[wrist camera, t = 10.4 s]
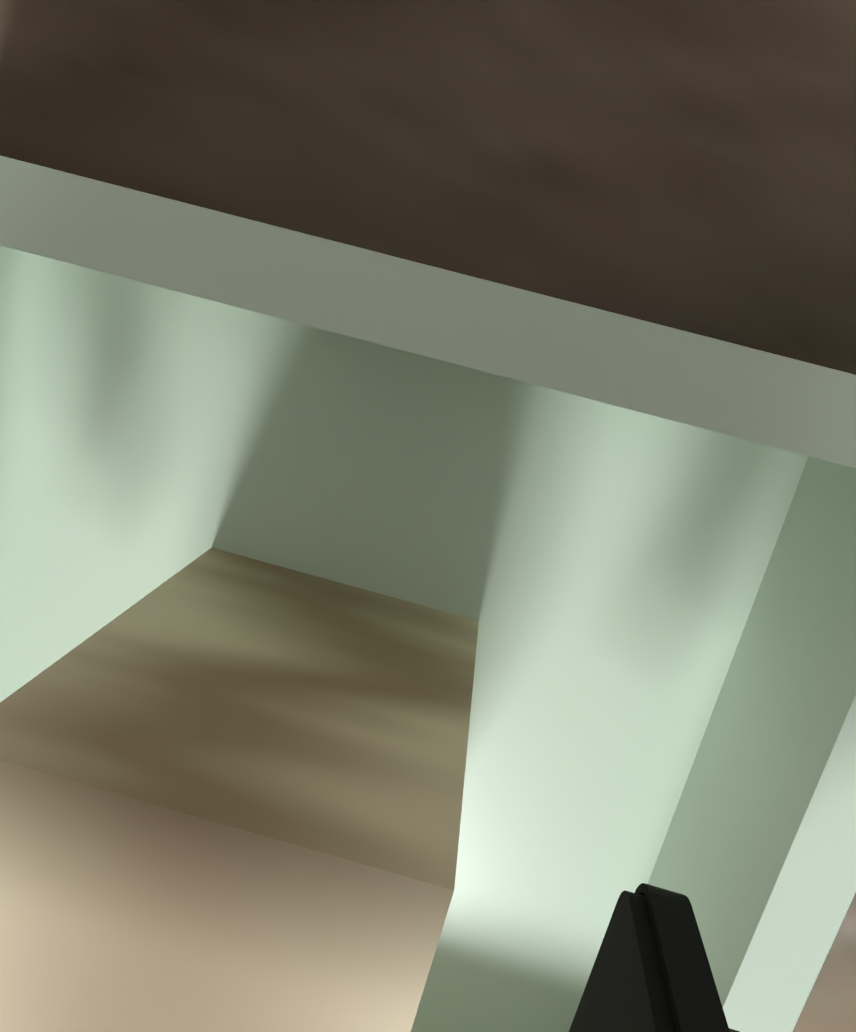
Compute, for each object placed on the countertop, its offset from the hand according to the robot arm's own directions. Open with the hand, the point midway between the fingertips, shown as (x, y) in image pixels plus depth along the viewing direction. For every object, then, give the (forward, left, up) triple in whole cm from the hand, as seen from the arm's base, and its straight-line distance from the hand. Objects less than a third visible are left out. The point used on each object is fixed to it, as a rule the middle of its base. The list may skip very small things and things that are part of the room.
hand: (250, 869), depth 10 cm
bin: (0, 0, -5) cm, 5 cm away
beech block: (0, 0, -5) cm, 5 cm away
